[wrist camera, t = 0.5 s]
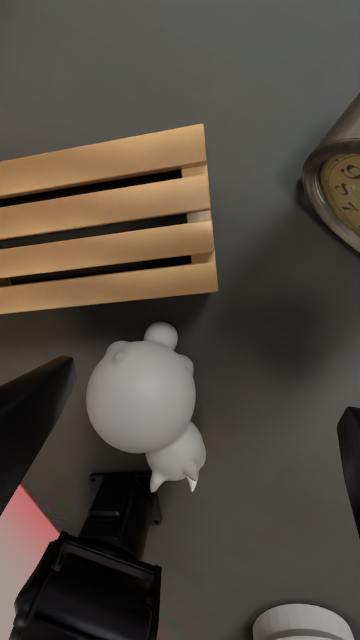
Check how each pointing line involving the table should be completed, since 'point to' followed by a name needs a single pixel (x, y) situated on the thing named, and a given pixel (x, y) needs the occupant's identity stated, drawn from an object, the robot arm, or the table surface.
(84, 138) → the table surface
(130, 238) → the wooden pallet
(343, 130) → the alarm clock
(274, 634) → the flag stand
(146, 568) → the robot arm
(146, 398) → the round bodied animal figurine
